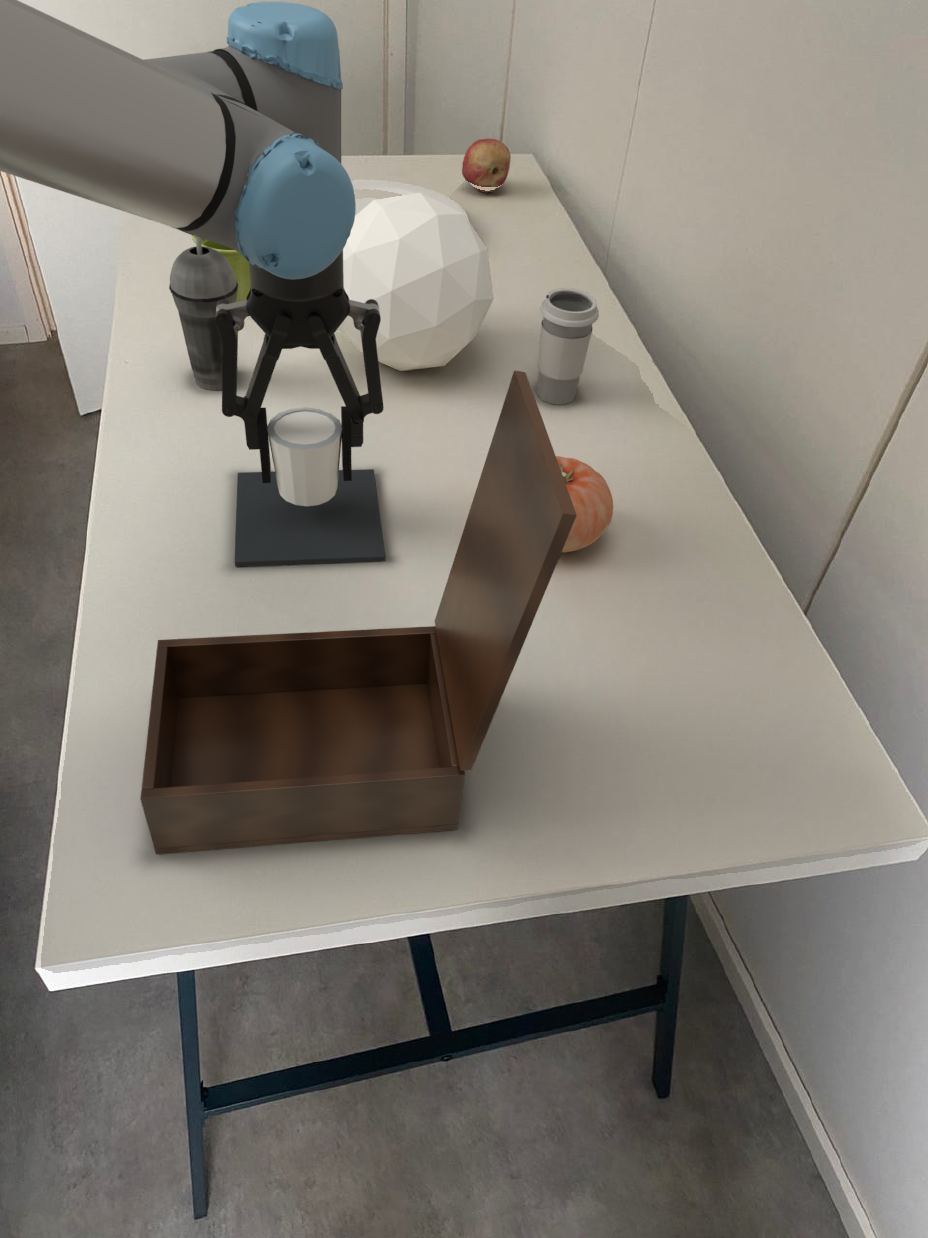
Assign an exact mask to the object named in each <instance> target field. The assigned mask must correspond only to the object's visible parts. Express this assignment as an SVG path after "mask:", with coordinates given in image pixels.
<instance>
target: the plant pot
mask: <svg viewBox="0 0 928 1238" xmlns="http://www.w3.org/2000/svg"><path fill="white" fill-rule="evenodd" d="M191 239H192V241H193V243H194V244H195V245H196V238H195V236H193V235H191ZM201 245H202V246H204V247H209V248H212V249H214V250H216V251H218V252H219V253H220V254H222V255H223V256H224V257H225V258H226V259H227V260H228V262H229V263H230V265H231V267H232V269H233V271H234V274H235V277H236V281H237V283H238V290H237V298H236V302H239V301H243V300H246V298H247V295H248V293H249V291H250V289H251V283H250V272H249V262H248V261H247V260H246V258H245V257H244V256H243V255H242V254H241V253H239V252H237V251H236V250H234V249H231V248H229V247H227V246H224V245H221V244H218V243H215V242H212V241H209V240H206V239H203V238H201Z"/></svg>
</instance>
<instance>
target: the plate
mask: <svg viewBox="0 0 928 1238" xmlns="http://www.w3.org/2000/svg"><path fill="white" fill-rule="evenodd" d="M350 180H351V182H352V185H353V189H354V190H355V189H358V190H359V189H360V190H362V189H370V190H374V189H376V190H382V191H388V192H394V193H398V194H402V195H408V194H415V193H422V194H424V195H426V196H428V197H430V198H432V199H434V200H437V201H439V202H441V203H443V204H445V205H447V206H449V207H451V208H453V209H455V210H457V211H459V212H461V213H463V214H464V215H465V216H466V218H467V219H468V221H469V222H470V219H469V217H468V213H467V212H466V211H465V209H464V207H462V206H461V205H460V204H459V203H458V202H456V201H455V200H453V199H452V198H450V197H448V196H447V195H444V194H442V193H440V192H438V191H435V190H432V189H430V188H426V187H422V186H419V185H416V184H411V183H406V182H401V181H393V180H392V181H391V180H385V179H384V180H383V179H362V178H361V179H350ZM373 200H376V199H375V198H362V199H355V203H356V210H355V216H356V215H357V214H358V213H359V212H360V211H361V210H363V209H364V208H365V207H366V206H367V205H368V204H370V203H371V202H372V201H373Z"/></svg>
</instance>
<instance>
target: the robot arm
mask: <svg viewBox="0 0 928 1238" xmlns="http://www.w3.org/2000/svg"><path fill="white" fill-rule="evenodd" d="M226 44H227V45H228V46H226V47H222V48H215V49H214V50H211V51H205V52H195V53H188V54H180V55H179V54H178V55H171V56H162V57H156V58H155V57H153V58H147V59H142V58H140V57H138V56H136V55H134V54H132V53H130V52H129V51H126V50H123V49H122V48H120V47H117V46H116V45H114V44H111V43H109V42H106V41H105V40H102V39H100V38H98V37H96V36H95V35H92V34H90V33H88V32H85V31H83V30H82V29H79V28H77V27H75V26H73V25H71V24H69V23H66V22H64V21H62V20H60V19H58V18H56V17H54V16H51V15H50V14H48V13H46V12H43V11H41V10H39V9H37V8H34V7H33V6H31V5H28V4H26V3H25V2H22V1H20V0H0V172H2V173H4V174H8V175H11V176H15V177H18V178H20V179H24V180H26V181H28V182H29V181H30V182H33V183H36V184H39V185H42V186H45V187H48V188H50V189H54V190H57V191H60V192H64V193H66V194H69V195H73V196H76V197H78V198H81V199H85V200H89V201H90V202H94V203H97V204H100V205H103V206H106V207H110V208H111V209H112V208H113V209H115V210H118V211H121V212H125V213H127V214H130V215H134V216H137V217H139V218H142V219H146V220H149V221H152V222H155V223H158V224H161V225H165V226H167V227H170V228H172V229H175V230H178V231H180V232H183V233H184V234H188V235H190V236H192V235H193V236H197V237H200V238H203V239H206V240H209V241H212V242H215V243H218V244H221V245H224V246H227V247H229V248H231V249H234V250H236V251H237V252H239V253H241V254H242V255H243V256H244V257H245V258H246V260H247V261H248V262H249V272H250V283H251V289H250V291H249V293H248V295H247V298H246V300H243V301H239V302H235V303H230V302H229V301H227V300H225V299H221V300H219V301H218V302H217V305H216V323H217V326H218V328H219V331H220V334H221V336H222V339H223V367H222V390H221V412H222V414H223V416H225V417H228V418H231V417H234V416H236V417H238V418H240V419H241V420H242V421H243V424H244V433H245V442H246V443H245V444H246V446H247V448H248V450H249V451H250V450H251V451H253V450H254V451H255V450H259V457H260V458H259V459H260V469H261V472H262V481H263V483H271V472H272V470H271V469H272V467H271V465H272V464H271V454H270V452H271V450H270V442H269V437H268V431H267V426H268V417H267V407H262V406H263V403H264V400H265V397H266V394H267V390H268V388H269V385H270V382H271V379H272V376H273V373H274V371H275V367H276V365H277V362H278V361H279V359H280V356H281V353H282V350H293V349H296V348H300V347H301V348H305V349H310V350H311V349H312V350H317V349H318V350H319V351H320V354H321V356H322V358H323V360H324V361H325V363H326V365H327V367H328V369H329V372H330V374H331V376H332V378H333V381H334V383H335V386H336V387H337V391H338V392H339V395H340V396H341V399H342V402H343V403H344V405H341V406H340V423H341V426H342V440H341V466H342V470H343V478H344V481H352V470H353V469H352V467H353V466H352V448H362V446H363V444H364V422H365V418H366V416H367V415H370V414H374V415H380V414H381V413H383V411H384V399H383V391H382V382H381V373H380V362H379V361H378V354H377V346H376V336H377V332H378V329H379V325H380V321H381V317H380V312H379V305H378V302H377V301H376V300H373V299H370V300H367V301H366V302H365V303H362V302H357V301H353V300H349V297H348V295H347V293H346V292H345V290H344V277H343V249H344V247H345V245H346V242H347V239H348V238H349V236H350V232H351V229H352V227H353V224H354V219H355V210H356V203H355V194H354V189H353V185H352V182H351V180H352V179H351V177H350V175H349V173H348V172H347V170H346V168H345V167H344V166H343V164H342V91H343V89H344V83H343V81H342V72H341V71H342V70H341V54H340V53H341V52H340V47H339V38H338V31H337V27H336V25H335V23H334V21H333V20H332V18H331V17H330V16H328V14H326V13H325V12H323V11H321V10H319V9H318V8H315V7H312V6H309V5H304V4H302V3H301V4H300V3H295V2H286V1H258V2H249V3H247V4H246V5H243V6H238V7H236V8H234V9H233V11H232V12H231V13H230V15H229V17H228V23H227V35H226ZM347 316H350V317H352V319H353V322H354V327H355V328H356V329H358V330H359V331H360V332H361V340H362V348H363V353H362V355H363V356H362V357H363V364H364V371H365V380H366V388H367V393H365V394H362V395H361V394H360V391H359V389H358V387H357V385H356V382H355V380H354V377H353V376H352V373H351V371H350V369H349V366H348V364H347V362H346V359H345V357H344V354H343V352H342V350H341V348H340V345H339V343H338V340H337V337H336V334H335V333H336V331H337V330H338V329H339V326H340V325H341V324H342V322H343V321H344V320H345V318H346V317H347ZM248 317H250V318H251V319H252V320H253V321H254V323H255V324H256V325H257V326H258V327H259V328H260V329H261V331H262V332H263V333H264V335H263V341H262V345H261V348H260V351H259V353H258V357H257V359H256V363H255V365H254V369H253V372H252V375H251V377H250V381H249V384H248V387H247V389H246V393H245V395H244V396H240V395H237V393H238V360H239V359H238V357H239V356H238V353H239V332H240V331H242V330H243V329H244V327H245V321H246V318H248Z"/></svg>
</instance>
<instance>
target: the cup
mask: <svg viewBox="0 0 928 1238" xmlns="http://www.w3.org/2000/svg"><path fill="white" fill-rule="evenodd" d="M539 313H540V314H541V316H542V320H541V324H540V335H539V347H538V348H539V349H538V360H537V361H538V362H537V369H538V373H537V385H536V395H537V397H538V398H539V399H540V400H542V401H543V402H546V403H548V404H551V405H557V406H562V405H567V404H570V403H572V402H573V401H574V400H575V398H576V395H577V390H578V386H579V383H580V377H581V375H582V373H583V370H584V366H585V363H586V357H587V353H588V349H589V345H590V341H591V338H592V333H593V324H595V323H596V322H597V321H598V320H599V317H600V311H599V308H598V302H597V299H596V298H595V296H593V295H592V294H590V293H588V292H586V291H584V290H581V289H577V288H570V287H561V288H555V289H552V290H550V291H549V292H547V293H546V294H545V297H544V299H543V300H542V302H541V304H540V306H539Z"/></svg>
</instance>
